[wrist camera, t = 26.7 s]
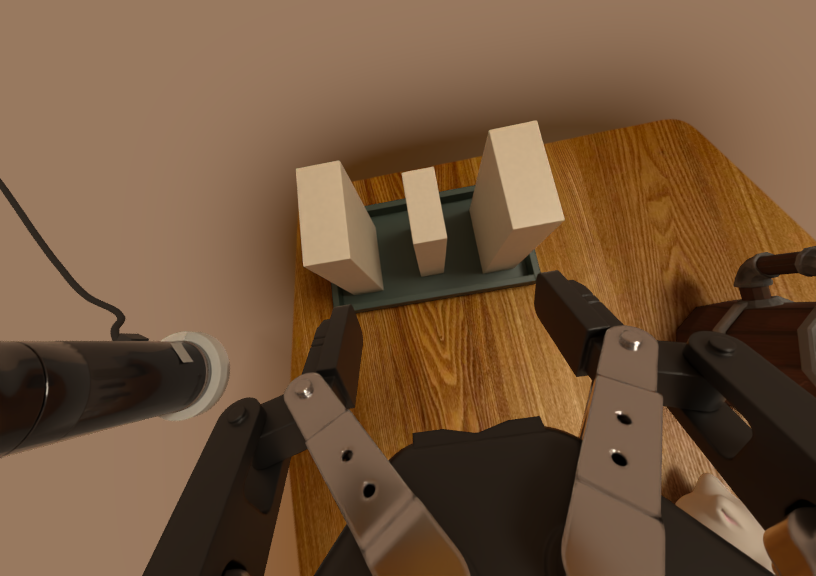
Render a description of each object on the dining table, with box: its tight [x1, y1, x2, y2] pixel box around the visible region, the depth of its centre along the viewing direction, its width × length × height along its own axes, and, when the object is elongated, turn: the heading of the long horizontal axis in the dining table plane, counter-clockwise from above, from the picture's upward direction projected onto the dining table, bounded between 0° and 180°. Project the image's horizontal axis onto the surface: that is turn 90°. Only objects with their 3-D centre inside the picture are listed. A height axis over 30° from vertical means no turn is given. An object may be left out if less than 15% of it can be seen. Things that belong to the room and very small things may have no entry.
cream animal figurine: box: [675, 473, 775, 574], centre depth 26 cm, size 10×8×15 cm
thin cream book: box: [402, 167, 447, 277], centre depth 32 cm, size 3×7×13 cm, turn 9°
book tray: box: [331, 185, 541, 313], centre depth 38 cm, size 26×14×3 cm, turn 99°
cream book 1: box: [296, 161, 384, 295], centre depth 32 cm, size 4×9×15 cm, turn 8°
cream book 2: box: [469, 121, 565, 274], centre depth 31 cm, size 4×9×15 cm, turn 9°
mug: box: [677, 246, 816, 407], centre depth 26 cm, size 16×12×15 cm
